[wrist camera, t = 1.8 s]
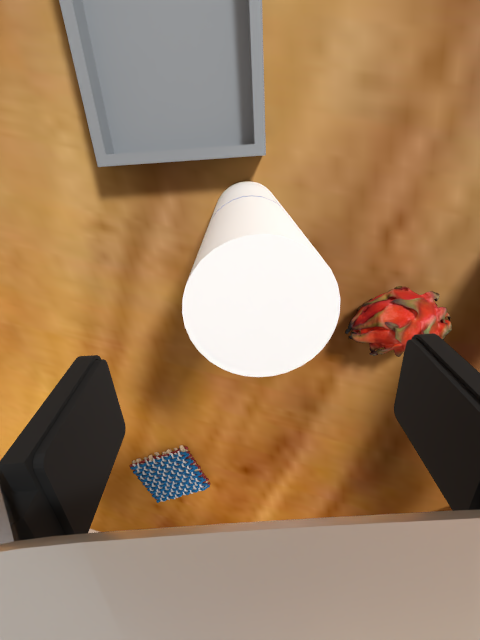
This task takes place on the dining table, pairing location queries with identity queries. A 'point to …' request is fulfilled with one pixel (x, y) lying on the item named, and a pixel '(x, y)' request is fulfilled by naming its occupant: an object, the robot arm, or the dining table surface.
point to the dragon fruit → (398, 320)
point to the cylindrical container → (258, 288)
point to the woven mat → (170, 474)
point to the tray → (169, 78)
